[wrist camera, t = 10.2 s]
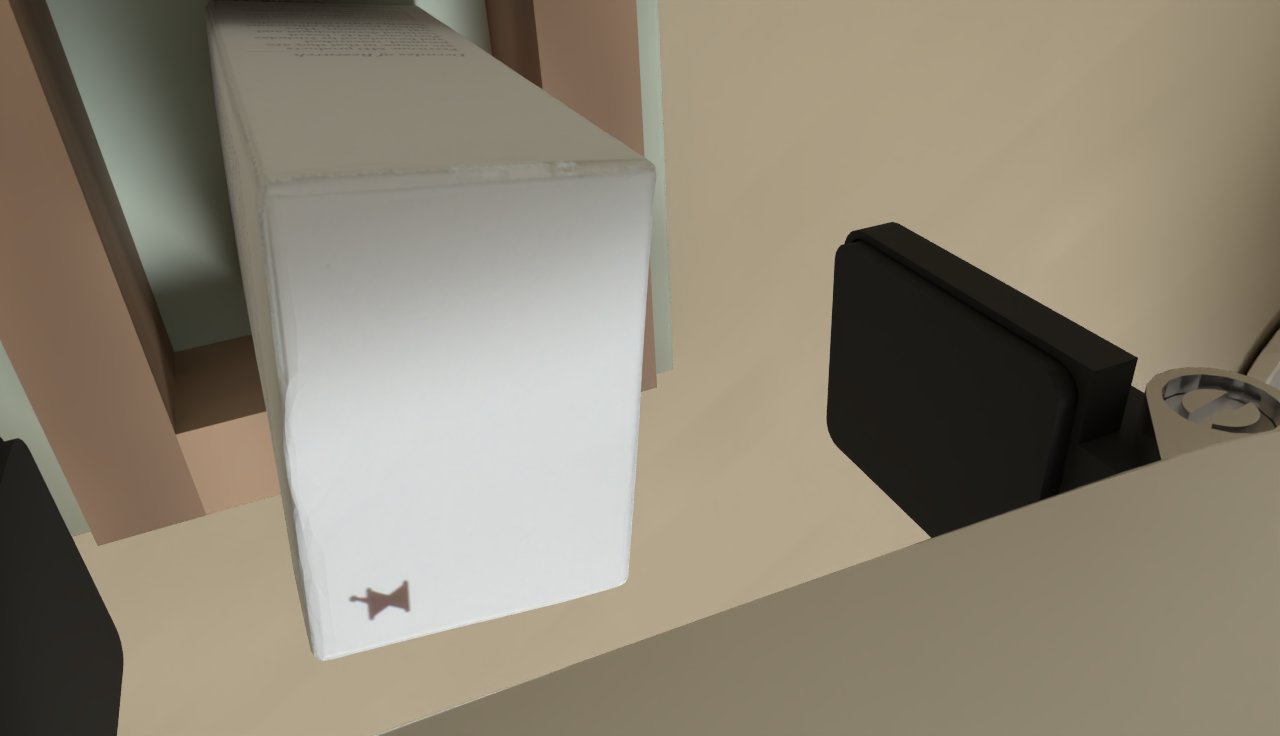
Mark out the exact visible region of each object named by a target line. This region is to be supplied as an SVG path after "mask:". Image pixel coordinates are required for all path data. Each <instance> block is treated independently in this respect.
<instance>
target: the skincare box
mask: <svg viewBox="0 0 1280 736" xmlns="http://www.w3.org/2000/svg"><path fill="white" fill-rule="evenodd" d="M205 18H206V28H207V37H208V46H209V55H210V64H211V72H212V81H213V89H214V98H215V106H216V113H217V120H218V127H219V134H220V141H221V148H222V155H223V161H224V168H225V174H226V181H227V187H228V194H229V200H230V206H231V213H232V219H233V226H234V232H235V239H236V245H237V252H238V258H239V264H240V270H241V276H242V282H243V289H244V295H245V300H246V305H247V311H248V316H249V322H250V327H251V333H252V338H253V343H254V349H255V355H256V360H257V365H258V370H259V375H260V380H261V385H262V391H263V396H264V401H265V407H266V412H267V417H268V423H269V429H270V435H271V440H272V446H273V452H274V457H275V463H276V469H277V474H278V480H279V485H280V491H281V496H282V502H283V508H284V514H285V520H286V526H287V532H288V538H289V544H290V550H291V557H292V563H293V569H294V574H295V579H296V584H297V589H298V594H299V598H300V603H301V607H302V612H303V617H304V622H305V626H306V631H307V635H308V639H309V644H310V648H311V651H312V653H313V654H314V656H315V657H316V658H317V659H319V660H322V661H327V660H331V659H335V658H339V657H343V656H347V655H351V654H355V653H358V652H362V651H366V650H370V649H374V648H378V647H382V646H386V645H390V644H394V643H398V642H402V641H406V640H409V639H413V638H417V637H421V636H425V635H429V634H433V633H437V632H441V631H446V630H450V629H454V628H458V627H462V626H466V625H470V624H475V623H479V622H483V621H487V620H492V619H496V618H500V617H504V616H508V615H512V614H516V613H520V612H524V611H528V610H532V609H536V608H541V607H545V606H549V605H553V604H557V603H561V602H565V601H569V600H572V599H576V598H580V597H583V596H587V595H590V594H594V593H597V592H601V591H604V590H608V589H611V588H614V587H617V586H620V585H622V584H624V583H625V582H626V580H627V578H628V573H629V556H630V544H631V531H632V517H633V504H634V490H635V476H636V462H637V446H638V431H639V416H640V398H641V380H642V362H643V345H644V330H645V315H646V299H647V284H648V270H649V256H650V243H651V229H652V215H653V200H654V192H655V186H656V179H657V176H656V168H655V166H654V164H653V163H651V162H650V161H649V160H648V159H646V158H644V157H643V156H641V155H640V154H638V153H637V152H635V151H634V150H632V149H631V148H629V147H628V146H627V145H625V144H624V143H622V142H621V141H619V140H618V139H616V138H614V137H613V136H611V135H610V134H608V133H606V132H605V131H603V130H602V129H600V128H599V127H597V126H596V125H594V124H593V123H591V122H590V121H589V120H587V119H586V118H584V117H583V116H581V115H580V114H578V113H577V112H575V111H574V110H572V109H570V108H569V107H568V106H566V105H565V104H564V103H562V102H561V101H559V100H558V99H556V98H554V97H552V96H551V95H550V94H548V93H547V92H545V91H544V90H543V89H541V88H540V87H538V86H537V85H535V84H533V83H532V82H530V81H529V80H527V79H526V78H524V77H523V76H521V75H520V74H518V73H517V72H515V71H513V70H512V69H510V68H509V67H508V66H506V65H505V64H503V63H502V62H501V61H499V60H497V59H496V58H494V57H493V56H491V55H490V54H488V53H487V52H486V51H484V50H483V49H481V48H480V47H478V46H477V45H475V44H474V43H472V42H470V41H469V40H467V39H466V38H465V37H463V36H462V35H460V34H459V33H457V32H456V31H454V30H453V29H451V28H450V27H448V26H447V25H445V24H444V23H442V22H441V21H439V20H438V19H436V18H435V17H433V16H432V15H430V14H429V13H427V12H426V11H424V10H423V9H421V8H420V7H418V6H409V5H361V4H331V3H297V2H254V1H211V2H208V3H207V5H206V6H205Z"/></svg>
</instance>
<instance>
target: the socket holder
mask: <svg viewBox="0 0 1280 736" xmlns="http://www.w3.org/2000/svg"><path fill="white" fill-rule="evenodd" d="M211 1H254V2H297V3H331V4H361V5H409V6H418V7H420V8H421V9H423V10H424V11H426V12H427V13H429V14H430V15H432V16H433V17H435V18H436V19H438V20H439V21H441V22H442V23H444V24H445V25H447V26H448V27H450V28H451V29H453V30H454V31H456V32H457V33H459V34H460V35H462V36H463V37H465V38H466V39H467V40H469V41H470V42H472V43H474V44H475V45H477V46H478V47H480V48H481V49H483V50H484V51H486V52H487V53H488V54H490V55H491V56H493V57H494V58H496V59H497V60H499V61H501V62H502V63H503V64H505V65H506V66H508V67H509V68H510V69H512V70H513V71H515V72H517V73H518V74H520V75H521V76H523V77H524V78H526V79H527V80H529V81H530V82H532V83H533V84H535V85H537V86H538V87H540V88H541V89H543V90H544V91H545V92H547V93H548V94H550V95H551V96H552V97H554V98H556V99H558V100H559V101H561V102H562V103H564V104H565V105H566V106H568V107H569V108H570V109H572V110H574V111H575V112H577V113H578V114H580V115H581V116H583V117H584V118H586V119H587V120H589V121H590V122H591V123H593V124H594V125H596V126H597V127H599V128H600V129H602V130H603V131H605V132H606V133H608V134H610V135H611V136H613V137H614V138H616V139H618V140H619V141H621V142H622V143H624V144H625V145H627V146H628V147H629V148H631V149H632V150H634V151H635V152H637V153H638V154H640V155H641V156H643V157H644V158H646V159H648V160H649V161H650V162H651V163H653V164H654V166H655V168H656V176H657V179H656V186H655V192H654V200H653V215H652V229H651V243H650V256H649V270H648V284H647V299H646V315H645V330H644V345H643V362H642V380H641V392H642V391H646V390H649V389H653V388H656V387H657V379H656V374H658V373H661V372H665V371H668V370H672V369H673V348H672V325H671V301H670V277H669V253H668V230H667V206H666V182H665V158H664V135H663V111H662V87H661V63H660V40H659V16H658V0H0V437H1V438H2V439H3V441H8V440H12V439H16V438H19V439H21V440H23V441H24V443H25V444H26V445H27V447H28V448H29V450H30V452H31V454H32V456H33V458H34V460H35V462H36V464H37V466H38V468H39V470H40V472H41V474H42V476H43V479H44V481H45V483H46V485H47V487H48V489H49V491H50V493H51V495H52V497H53V499H54V501H55V503H56V505H57V507H58V509H59V512H60V514H61V516H62V518H63V520H64V522H65V524H66V526H67V528H68V530H69V532H70V534H71V536H72V537H73V536H77V535H80V534H84V533H88V532H92V534H93V537H94V539H95V541H96V543H97V545H98V546H99V545H103V544H107V543H110V542H114V541H117V540H121V539H124V538H128V537H131V536H135V535H138V534H142V533H145V532H149V531H152V530H156V529H159V528H163V527H166V526H170V525H173V524H177V523H181V522H184V521H188V520H191V519H195V518H198V517H202V516H205V515H209V514H212V513H216V512H219V511H223V510H226V509H230V508H233V507H237V506H240V505H244V504H247V503H251V502H254V501H258V500H262V499H265V498H269V497H272V496H276V495H279V494H281V491H280V485H279V480H278V474H277V469H276V463H275V457H274V452H273V446H272V440H271V435H270V429H269V423H268V417H267V412H266V407H265V401H264V396H263V391H262V385H261V380H260V375H259V370H258V365H257V360H256V355H255V349H254V343H253V338H252V333H251V327H250V322H249V316H248V311H247V305H246V300H245V295H244V289H243V282H242V276H241V270H240V264H239V258H238V252H237V245H236V239H235V232H234V226H233V219H232V213H231V206H230V200H229V194H228V187H227V181H226V174H225V168H224V161H223V155H222V148H221V141H220V134H219V127H218V120H217V113H216V106H215V98H214V89H213V81H212V72H211V64H210V55H209V46H208V37H207V28H206V18H205V6H206V5H207V3H208V2H211Z"/></svg>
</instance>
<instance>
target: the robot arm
mask: <svg viewBox="0 0 1280 736" xmlns="http://www.w3.org/2000/svg"><path fill="white" fill-rule="evenodd" d="M1137 359H1138V358H1137V357H1135V356H1133V355H1132V354H1130V353H1128V352H1126V351H1125V350H1123V349H1121V348H1119V347H1117V346H1116V345H1114V344H1112V343H1110V342H1109V341H1107V340H1105V339H1103V338H1101V337H1100V336H1098V335H1096V334H1094V333H1092V332H1091V331H1089V330H1087V329H1085V328H1084V327H1082V326H1080V325H1078V324H1076V323H1075V322H1073V321H1071V320H1069V319H1068V318H1066V317H1064V316H1062V315H1060V314H1059V313H1057V312H1055V311H1053V310H1052V309H1050V308H1048V307H1046V306H1044V305H1043V304H1041V303H1039V302H1037V301H1035V300H1034V299H1032V298H1030V297H1028V296H1027V295H1025V294H1023V293H1021V292H1019V291H1018V290H1016V289H1014V288H1012V287H1011V286H1009V285H1007V284H1005V283H1003V282H1002V281H1000V280H998V279H996V278H994V277H993V276H991V275H989V274H987V273H986V272H984V271H982V270H980V269H978V268H977V267H975V266H973V265H971V264H970V263H968V262H966V261H964V260H962V259H961V258H959V257H957V256H955V255H954V254H952V253H950V252H948V251H946V250H945V249H943V248H941V247H939V246H937V245H936V244H934V243H932V242H930V241H929V240H927V239H925V238H923V237H921V236H920V235H918V234H916V233H914V232H913V231H911V230H909V229H907V228H905V227H904V226H902V225H900V224H898V223H894V222H890V223H886V224H882V225H877V226H873V227H869V228H864V229H860V230H856V231H852V232H851V233H850V234H849V235H848V236H847V238H846V241H845V244H844V245H841V246H840V247H839V248H838V250H837V252H836V256H835V267H834V286H833V305H832V324H831V344H830V363H829V382H828V401H827V426H828V431H829V433H830V436H831V438H832V440H833V442H834V443H835V444H836V446H837V447H838V448H839V449H840V450H841V451H842V452H843V453H844V454H845V455H846V456H847V457H848V458H849V459H851V460H852V461H853V462H854V463H855V464H856V465H857V466H858V467H859V468H860V469H861V470H862V471H863V472H864V473H865V474H866V475H867V476H868V477H869V478H870V479H871V480H872V481H873V482H874V483H875V484H876V485H877V486H878V487H879V488H881V489H882V490H883V491H884V492H885V493H886V494H887V495H888V496H889V497H890V498H891V499H892V500H893V501H894V502H895V503H896V504H897V505H898V506H899V507H900V508H901V509H902V510H903V511H904V512H905V513H906V514H907V515H908V516H909V517H911V518H912V519H913V520H914V521H915V522H916V523H917V524H918V525H919V526H920V527H921V528H922V529H923V530H924V531H925V532H926V533H927V534H928V535H929V536H930V537H931V539H928V540H925V541H922V542H919V543H916V544H914V545H911V546H908V547H905V548H902V549H899V550H897V551H894V552H891V553H888V554H885V555H882V556H880V557H877V558H874V559H871V560H868V561H865V562H862V563H860V564H857V565H854V566H851V567H848V568H845V569H842V570H840V571H837V572H834V573H831V574H828V575H825V576H823V577H820V578H817V579H814V580H811V581H808V582H805V583H803V584H800V585H797V586H794V587H791V588H788V589H785V590H783V591H780V592H777V593H774V594H771V595H768V596H766V597H763V598H760V599H757V600H754V601H751V602H748V603H746V604H743V605H740V606H737V607H734V608H731V609H729V610H726V611H723V612H720V613H717V614H715V615H712V616H709V617H706V618H703V619H700V620H698V621H695V622H692V623H689V624H686V625H684V626H681V627H678V628H675V629H672V630H669V631H667V632H664V633H661V634H658V635H655V636H653V637H650V638H647V639H644V640H641V641H638V642H636V643H633V644H630V645H627V646H624V647H621V648H619V649H616V650H613V651H610V652H607V653H604V654H601V655H599V656H596V657H593V658H590V659H587V660H584V661H582V662H579V663H576V664H573V665H570V666H567V667H565V668H562V669H559V670H556V671H553V672H550V673H548V674H545V675H542V676H539V677H536V678H533V679H531V680H528V681H525V682H522V683H519V684H516V685H514V686H511V687H508V688H505V689H502V690H499V691H496V692H494V693H491V694H488V695H485V696H482V697H479V698H477V699H474V700H471V701H468V702H466V703H463V704H460V705H457V706H454V707H452V708H449V709H446V710H443V711H440V712H438V713H435V714H432V715H429V716H426V717H424V718H421V719H418V720H415V721H412V722H410V723H407V724H404V725H401V726H398V727H396V728H393V729H390V730H387V731H384V732H382V733H379V734H376V735H373V736H1280V328H1279V329H1278V330H1277V332H1276V333H1275V334H1274V336H1273V337H1272V338H1271V339H1270V341H1269V342H1268V343H1267V345H1266V346H1265V347H1264V349H1263V350H1262V351H1261V352H1260V354H1259V355H1258V357H1257V358H1256V360H1255V362H1254V363H1253V365H1252V366H1251V368H1250V369H1249V371H1248V373H1247V374H1246V376H1245V375H1242V374H1239V373H1235V372H1231V371H1225V370H1219V369H1213V368H1196V367H1186V368H1179V369H1172V370H1168V371H1165V372H1163V373H1160V374H1158V375H1155V376H1154V377H1153V378H1152V379H1151V380H1150V381H1149V382H1148V383H1147V386H1146V390H1145V393H1143V392H1141V391H1140V390H1138V389H1136V388H1135V387H1133V386H1131V383H1132V379H1133V375H1134V371H1135V367H1136V363H1137ZM122 675H123V651H122V646H121V641H120V638H119V634H118V632H117V629H116V627H115V625H114V623H113V621H112V619H111V617H110V615H109V613H108V611H107V608H106V606H105V604H104V602H103V600H102V598H101V596H100V594H99V592H98V590H97V588H96V586H95V584H94V582H93V580H92V578H91V575H90V573H89V571H88V569H87V567H86V565H85V563H84V561H83V559H82V557H81V555H80V553H79V551H78V549H77V547H76V545H75V542H74V540H73V538H72V536H71V534H70V532H69V530H68V528H67V526H66V524H65V522H64V520H63V518H62V516H61V514H60V512H59V509H58V507H57V505H56V503H55V501H54V499H53V497H52V495H51V493H50V491H49V489H48V487H47V485H46V483H45V481H44V479H43V476H42V474H41V472H40V470H39V468H38V466H37V464H36V462H35V460H34V458H33V456H32V454H31V452H30V450H29V448H28V447H27V445H26V444H25V443H24V441H23V440H21V439H19V438H16V439H12V440H8V441H3V439H2V438H1V437H0V736H117V728H118V717H119V707H120V696H121V685H122Z"/></svg>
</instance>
